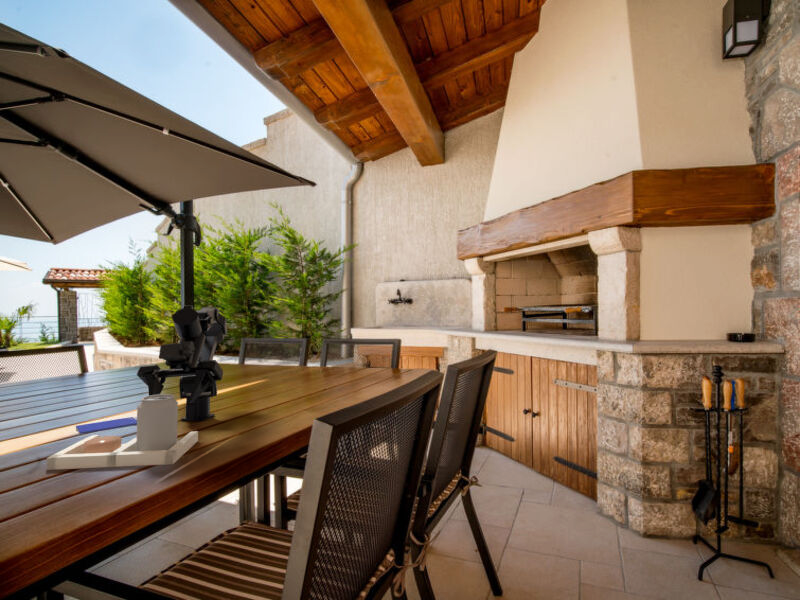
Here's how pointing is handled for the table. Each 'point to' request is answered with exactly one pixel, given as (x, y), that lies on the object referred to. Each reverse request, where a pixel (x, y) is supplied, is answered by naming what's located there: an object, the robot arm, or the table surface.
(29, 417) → the table surface
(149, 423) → the can
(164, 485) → the table surface
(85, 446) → the terracotta dish
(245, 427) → the table surface
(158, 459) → the divider tray
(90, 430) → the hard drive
